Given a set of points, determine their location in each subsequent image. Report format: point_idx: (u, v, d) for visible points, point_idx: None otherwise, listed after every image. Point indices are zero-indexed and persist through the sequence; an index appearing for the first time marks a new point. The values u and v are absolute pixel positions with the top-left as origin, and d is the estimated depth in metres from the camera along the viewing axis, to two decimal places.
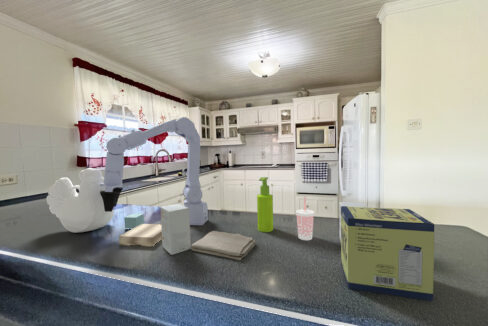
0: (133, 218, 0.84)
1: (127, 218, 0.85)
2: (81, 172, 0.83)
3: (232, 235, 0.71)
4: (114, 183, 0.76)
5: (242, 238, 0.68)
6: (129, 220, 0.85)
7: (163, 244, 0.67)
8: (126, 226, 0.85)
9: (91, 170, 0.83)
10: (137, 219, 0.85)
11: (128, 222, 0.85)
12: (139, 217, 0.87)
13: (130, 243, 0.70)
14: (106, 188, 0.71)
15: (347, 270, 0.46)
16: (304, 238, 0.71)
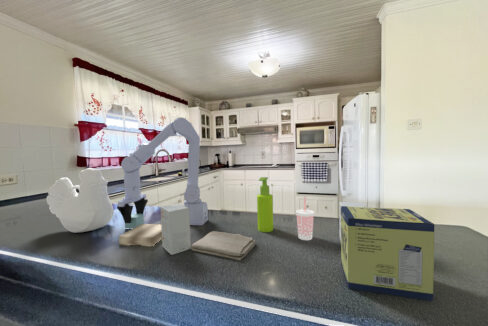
0: (133, 218, 0.84)
1: None
2: (81, 172, 0.83)
3: (232, 235, 0.71)
4: (130, 198, 0.84)
5: (242, 238, 0.68)
6: None
7: (163, 244, 0.67)
8: (126, 226, 0.85)
9: (91, 170, 0.83)
10: (137, 219, 0.85)
11: None
12: (139, 217, 0.87)
13: (130, 243, 0.70)
14: (118, 203, 0.80)
15: (347, 270, 0.46)
16: (304, 238, 0.71)
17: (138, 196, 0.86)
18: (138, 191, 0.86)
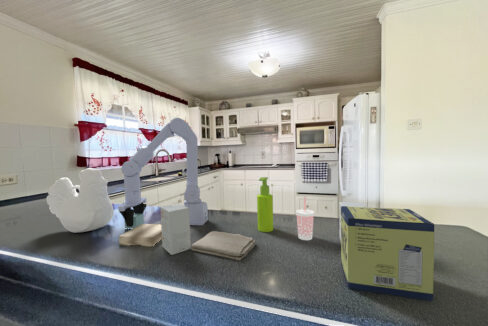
0: (133, 218, 0.84)
1: None
2: (81, 172, 0.83)
3: (232, 235, 0.71)
4: (130, 202, 0.84)
5: (242, 238, 0.68)
6: None
7: (163, 244, 0.67)
8: (126, 226, 0.85)
9: (91, 170, 0.83)
10: (137, 219, 0.85)
11: None
12: (139, 217, 0.87)
13: (130, 243, 0.70)
14: (118, 208, 0.80)
15: (347, 270, 0.46)
16: (304, 238, 0.71)
17: (138, 200, 0.86)
18: (138, 195, 0.86)
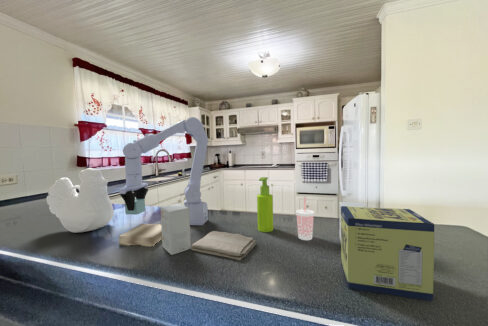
0: None
1: None
2: (81, 172, 0.83)
3: (232, 235, 0.71)
4: (131, 185, 0.81)
5: (242, 238, 0.68)
6: None
7: (163, 244, 0.67)
8: (127, 211, 0.83)
9: (91, 170, 0.83)
10: (138, 203, 0.83)
11: None
12: (140, 201, 0.84)
13: (130, 243, 0.70)
14: (119, 190, 0.77)
15: (347, 270, 0.46)
16: (304, 238, 0.71)
17: (140, 184, 0.83)
18: (140, 179, 0.83)
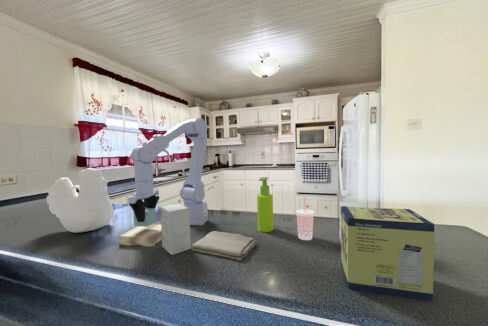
0: None
1: None
2: (81, 172, 0.83)
3: (232, 235, 0.71)
4: (142, 193, 0.72)
5: (242, 238, 0.68)
6: None
7: (163, 244, 0.67)
8: (136, 222, 0.73)
9: (91, 170, 0.83)
10: (148, 214, 0.73)
11: None
12: (150, 212, 0.75)
13: (130, 243, 0.70)
14: (128, 200, 0.68)
15: (347, 270, 0.46)
16: (304, 238, 0.71)
17: (151, 191, 0.74)
18: (151, 186, 0.74)
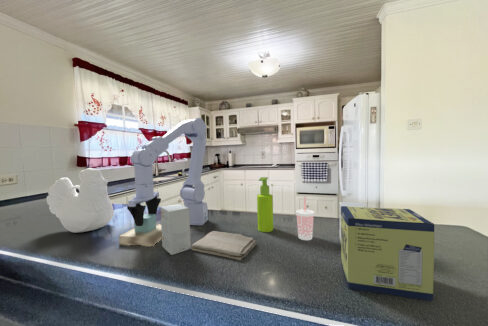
0: (144, 219, 0.73)
1: None
2: (81, 172, 0.83)
3: (232, 235, 0.71)
4: (142, 196, 0.72)
5: (242, 238, 0.68)
6: None
7: (163, 244, 0.67)
8: (136, 228, 0.73)
9: (91, 170, 0.83)
10: (149, 220, 0.73)
11: None
12: (151, 218, 0.75)
13: (130, 243, 0.70)
14: (129, 203, 0.68)
15: (347, 270, 0.46)
16: (304, 238, 0.71)
17: (151, 194, 0.74)
18: (151, 188, 0.74)
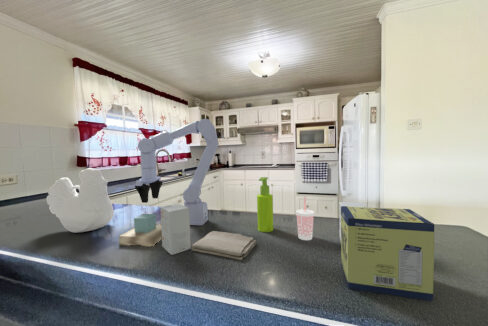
0: (144, 219, 0.73)
1: (137, 219, 0.73)
2: (81, 172, 0.83)
3: (232, 235, 0.71)
4: (147, 178, 0.86)
5: (243, 238, 0.68)
6: (140, 221, 0.73)
7: (163, 244, 0.67)
8: (136, 228, 0.73)
9: (91, 170, 0.83)
10: (149, 220, 0.73)
11: (139, 224, 0.73)
12: (151, 218, 0.75)
13: (130, 243, 0.70)
14: (136, 182, 0.82)
15: (347, 270, 0.46)
16: (304, 238, 0.71)
17: (154, 177, 0.88)
18: (154, 172, 0.88)
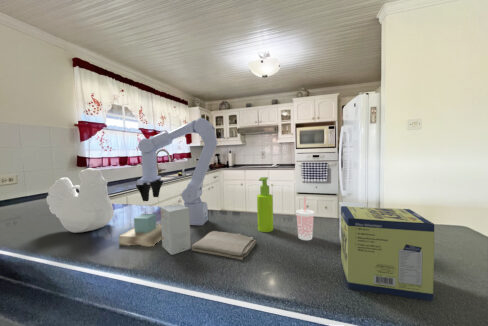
0: (144, 219, 0.73)
1: (137, 219, 0.73)
2: (81, 172, 0.83)
3: (232, 235, 0.71)
4: (148, 177, 0.89)
5: (243, 238, 0.69)
6: (140, 221, 0.73)
7: (163, 244, 0.67)
8: (136, 228, 0.73)
9: (91, 170, 0.83)
10: (149, 220, 0.73)
11: (139, 224, 0.73)
12: (151, 218, 0.75)
13: (130, 243, 0.70)
14: (137, 182, 0.85)
15: (347, 270, 0.46)
16: (304, 238, 0.71)
17: (155, 176, 0.91)
18: (155, 171, 0.91)
